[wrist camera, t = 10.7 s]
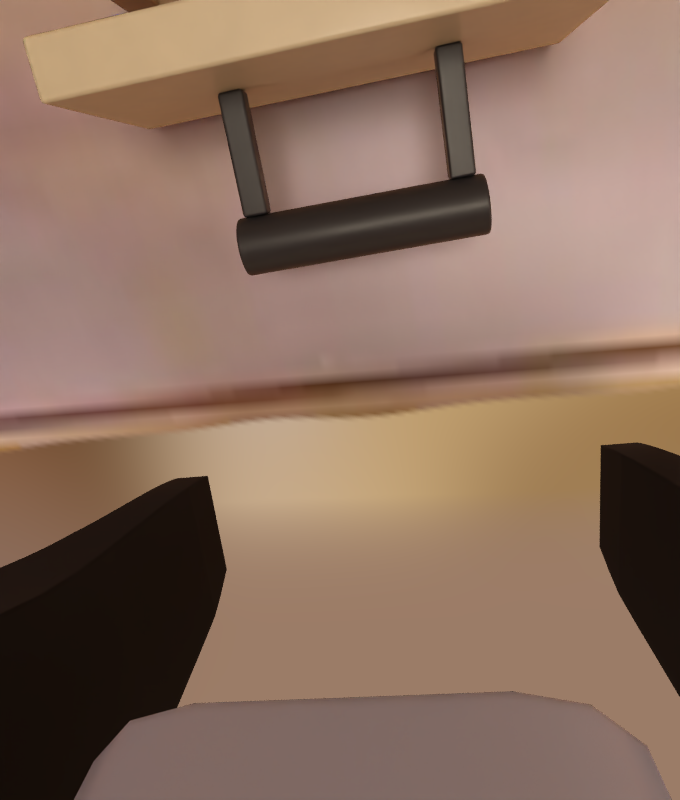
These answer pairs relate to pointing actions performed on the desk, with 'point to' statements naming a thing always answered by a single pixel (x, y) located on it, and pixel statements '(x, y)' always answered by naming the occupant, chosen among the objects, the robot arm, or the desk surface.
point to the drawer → (294, 78)
